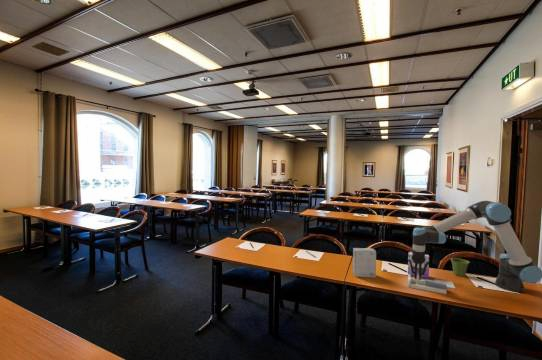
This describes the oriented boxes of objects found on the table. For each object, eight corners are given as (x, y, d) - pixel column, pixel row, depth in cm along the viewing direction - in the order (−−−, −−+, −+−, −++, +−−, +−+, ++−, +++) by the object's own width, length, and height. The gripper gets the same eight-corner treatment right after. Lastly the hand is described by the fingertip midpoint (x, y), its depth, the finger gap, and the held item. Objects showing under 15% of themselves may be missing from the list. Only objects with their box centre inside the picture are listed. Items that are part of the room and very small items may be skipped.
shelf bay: (443, 287, 178) (443, 280, 177) (446, 294, 168) (446, 286, 167) (408, 281, 187) (408, 274, 187) (408, 287, 177) (408, 279, 177)
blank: (445, 289, 174) (445, 282, 174) (446, 292, 170) (446, 285, 170) (424, 286, 180) (424, 279, 180) (425, 288, 176) (425, 281, 175)
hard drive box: (373, 273, 199) (373, 248, 198) (376, 278, 192) (376, 251, 191) (352, 272, 201) (353, 247, 200) (354, 276, 193) (355, 250, 192)
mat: (452, 282, 185) (452, 282, 185) (455, 289, 175) (455, 288, 175) (434, 279, 190) (434, 279, 190) (436, 285, 180) (436, 284, 180)
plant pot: (472, 276, 197) (473, 262, 197) (462, 278, 193) (462, 263, 192) (456, 271, 208) (456, 257, 208) (446, 272, 204) (446, 258, 203)
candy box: (407, 274, 198) (408, 253, 198) (407, 272, 204) (408, 251, 203) (428, 278, 192) (429, 256, 191) (428, 275, 197) (428, 254, 197)
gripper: (429, 250, 179) (427, 283, 180) (407, 247, 185) (406, 280, 186) (430, 253, 173) (429, 288, 173) (408, 250, 178) (407, 284, 179)
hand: (417, 283), depth 180 cm, fingers closed
